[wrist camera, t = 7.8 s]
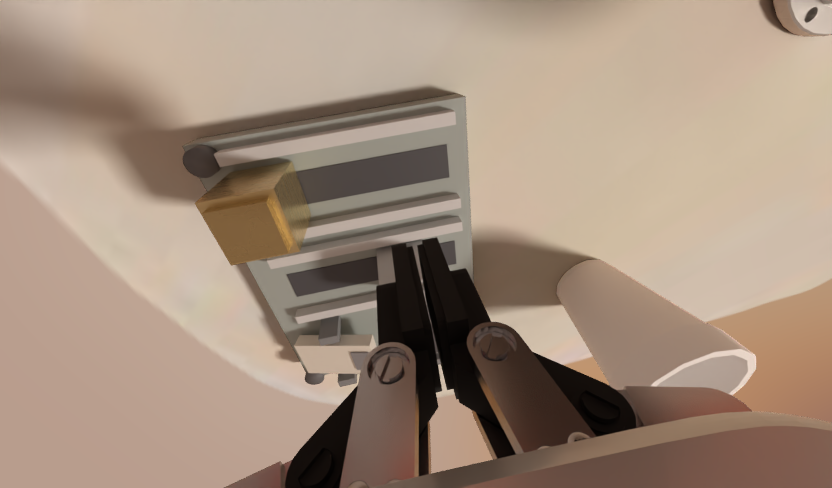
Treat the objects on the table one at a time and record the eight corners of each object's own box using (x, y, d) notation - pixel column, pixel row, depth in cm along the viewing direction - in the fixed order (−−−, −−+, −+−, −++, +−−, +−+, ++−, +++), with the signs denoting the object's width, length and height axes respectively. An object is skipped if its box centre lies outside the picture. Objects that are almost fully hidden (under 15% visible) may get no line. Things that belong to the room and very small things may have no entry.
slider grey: (424, 239, 25) (439, 282, 20) (430, 277, 27) (444, 324, 22) (376, 249, 24) (379, 295, 20) (385, 286, 27) (390, 336, 22)
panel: (457, 93, 21) (478, 101, 18) (470, 326, 34) (484, 361, 30) (197, 138, 20) (158, 157, 16) (311, 361, 33) (305, 402, 29)
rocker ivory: (371, 332, 27) (368, 344, 26) (382, 364, 29) (379, 377, 28) (298, 333, 28) (291, 345, 27) (314, 364, 30) (309, 376, 29)
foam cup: (615, 303, 36) (726, 410, 25) (541, 322, 36) (620, 438, 25) (632, 237, 31) (779, 334, 20) (545, 258, 31) (648, 369, 20)
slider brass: (291, 160, 20) (270, 192, 15) (311, 214, 22) (298, 257, 17) (230, 172, 20) (189, 208, 15) (255, 225, 22) (227, 271, 17)
